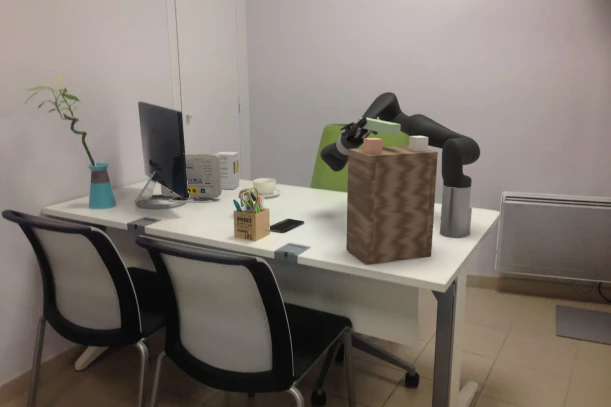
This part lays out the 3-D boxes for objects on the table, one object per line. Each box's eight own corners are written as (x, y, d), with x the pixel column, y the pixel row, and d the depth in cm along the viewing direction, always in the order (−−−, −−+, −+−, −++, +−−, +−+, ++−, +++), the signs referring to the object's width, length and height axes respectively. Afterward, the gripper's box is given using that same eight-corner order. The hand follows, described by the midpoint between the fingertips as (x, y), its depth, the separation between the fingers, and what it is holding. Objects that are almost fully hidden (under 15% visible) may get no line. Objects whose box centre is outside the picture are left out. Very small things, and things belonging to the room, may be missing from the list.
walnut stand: (407, 242, 175) (412, 145, 167) (431, 256, 162) (437, 152, 154) (346, 250, 167) (348, 149, 160) (366, 265, 155) (369, 155, 147)
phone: (264, 228, 188) (287, 218, 200) (264, 231, 188) (287, 221, 201) (283, 231, 184) (305, 221, 196) (283, 234, 184) (305, 224, 197)
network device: (223, 198, 234) (221, 153, 229) (217, 203, 226) (216, 156, 221) (166, 197, 236) (163, 152, 231) (159, 201, 228) (156, 155, 223)
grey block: (420, 149, 160) (421, 135, 159) (427, 150, 156) (428, 137, 155) (408, 149, 159) (409, 136, 158) (415, 151, 155) (416, 137, 154)
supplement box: (233, 190, 250) (232, 154, 246) (215, 189, 252) (213, 154, 248) (239, 185, 260) (238, 151, 255) (221, 185, 261) (220, 151, 257)
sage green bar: (366, 126, 175) (366, 117, 174) (400, 134, 155) (400, 124, 154) (357, 127, 174) (358, 117, 173) (391, 135, 154) (391, 124, 153)
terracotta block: (375, 151, 155) (376, 137, 154) (382, 153, 151) (382, 139, 150) (363, 152, 154) (363, 138, 153) (369, 154, 150) (370, 139, 149)
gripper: (329, 131, 182) (348, 109, 166) (366, 129, 187) (388, 108, 171) (333, 151, 180) (352, 131, 165) (370, 149, 185) (392, 129, 169)
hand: (370, 119), depth 168 cm, fingers closed on sage green bar, 3 cm apart
